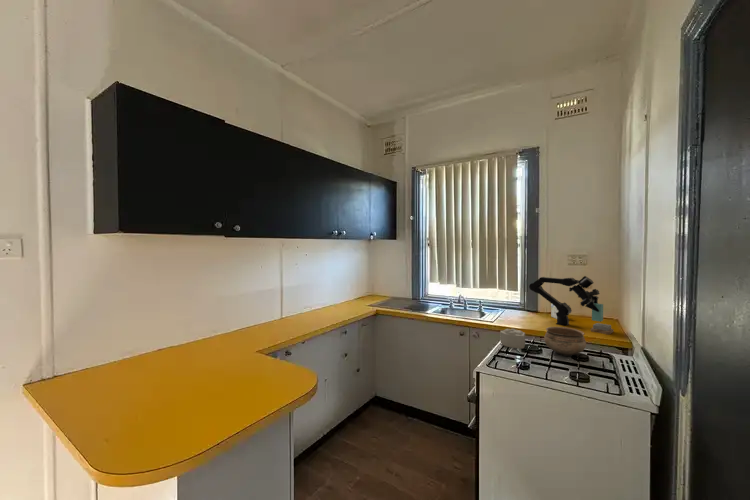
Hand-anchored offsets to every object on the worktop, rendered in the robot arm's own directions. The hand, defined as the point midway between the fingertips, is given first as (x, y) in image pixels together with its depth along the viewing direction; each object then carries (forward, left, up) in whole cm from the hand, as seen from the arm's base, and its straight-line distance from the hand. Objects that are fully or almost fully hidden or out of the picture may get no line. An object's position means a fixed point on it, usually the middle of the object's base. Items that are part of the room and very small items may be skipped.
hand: (599, 310), depth 207 cm
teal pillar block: (-1, 0, -7) cm, 7 cm away
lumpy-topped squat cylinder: (-21, -73, -14) cm, 77 cm away
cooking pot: (+4, -65, -14) cm, 67 cm away
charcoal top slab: (+1, 0, -12) cm, 12 cm away
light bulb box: (-33, +17, -14) cm, 39 cm away
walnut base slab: (+1, 0, -14) cm, 14 cm away
